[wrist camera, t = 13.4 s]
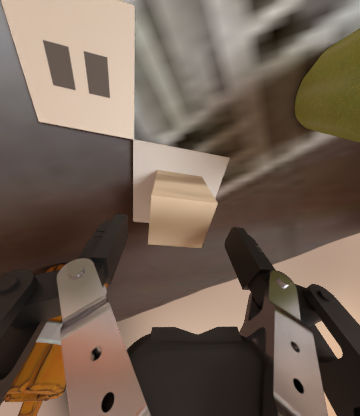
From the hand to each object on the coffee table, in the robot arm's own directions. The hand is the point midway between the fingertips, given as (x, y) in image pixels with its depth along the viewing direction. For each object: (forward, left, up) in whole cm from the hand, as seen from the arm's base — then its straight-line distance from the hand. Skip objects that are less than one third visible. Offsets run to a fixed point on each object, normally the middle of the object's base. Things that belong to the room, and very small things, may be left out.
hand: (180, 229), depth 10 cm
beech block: (0, 0, -7) cm, 7 cm away
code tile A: (-9, -9, -7) cm, 14 cm away
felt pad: (0, 0, -7) cm, 7 cm away
